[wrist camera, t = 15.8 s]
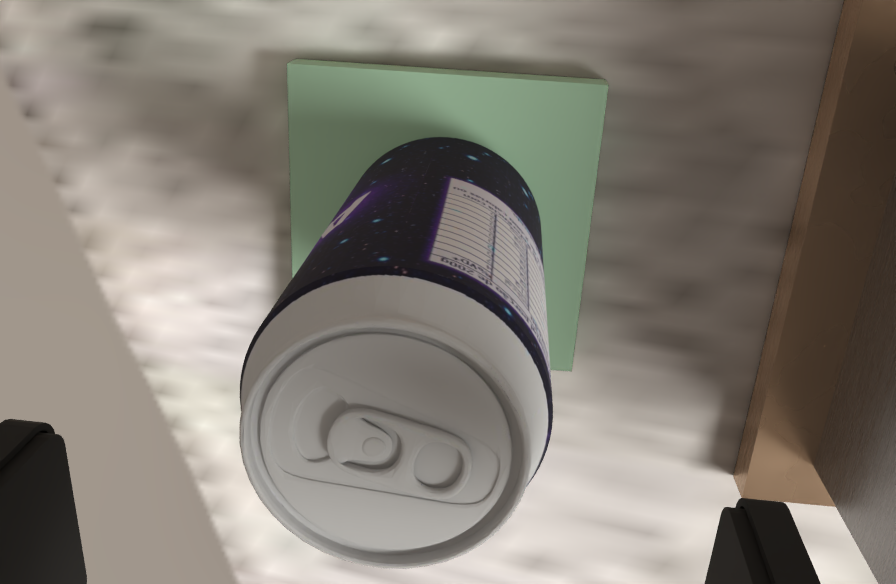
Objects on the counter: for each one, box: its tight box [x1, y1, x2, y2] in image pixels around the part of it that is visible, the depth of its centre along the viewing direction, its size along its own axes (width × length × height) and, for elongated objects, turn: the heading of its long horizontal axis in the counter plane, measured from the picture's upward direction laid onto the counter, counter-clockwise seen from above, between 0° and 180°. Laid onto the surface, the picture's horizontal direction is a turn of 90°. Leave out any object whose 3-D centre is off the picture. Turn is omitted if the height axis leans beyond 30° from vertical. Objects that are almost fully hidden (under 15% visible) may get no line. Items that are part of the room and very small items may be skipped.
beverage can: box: [240, 137, 553, 569], centre depth 19 cm, size 6×6×12 cm
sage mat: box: [287, 59, 609, 371], centre depth 25 cm, size 9×9×1 cm
